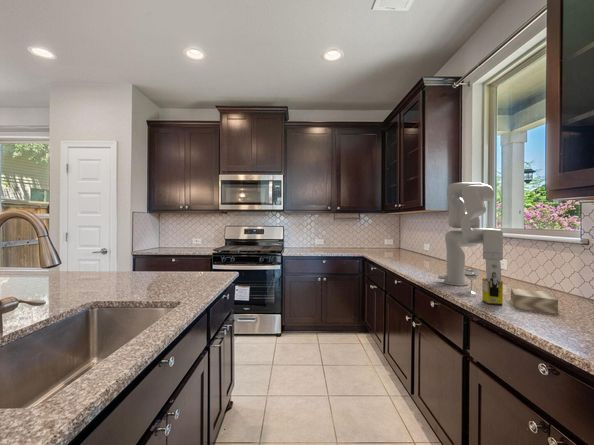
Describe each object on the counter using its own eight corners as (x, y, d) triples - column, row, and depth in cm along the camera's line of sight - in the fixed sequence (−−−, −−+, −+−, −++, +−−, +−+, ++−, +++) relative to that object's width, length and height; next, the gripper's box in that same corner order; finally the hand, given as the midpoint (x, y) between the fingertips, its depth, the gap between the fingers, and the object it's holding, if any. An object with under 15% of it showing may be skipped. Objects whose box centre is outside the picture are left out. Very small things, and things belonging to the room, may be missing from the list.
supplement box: (502, 305, 126) (503, 280, 126) (487, 304, 127) (488, 280, 127) (496, 301, 132) (496, 278, 132) (482, 301, 133) (482, 277, 133)
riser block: (514, 308, 123) (514, 294, 123) (510, 300, 135) (510, 288, 135) (557, 314, 115) (558, 299, 115) (549, 305, 127) (549, 292, 127)
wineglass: (482, 293, 146) (482, 270, 146) (472, 294, 144) (472, 271, 144) (470, 290, 153) (470, 268, 153) (460, 291, 151) (461, 268, 151)
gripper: (506, 258, 120) (506, 299, 120) (499, 254, 135) (499, 290, 135) (484, 257, 123) (484, 297, 123) (480, 253, 139) (480, 289, 139)
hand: (492, 293), depth 129 cm, fingers open, 9 cm apart
